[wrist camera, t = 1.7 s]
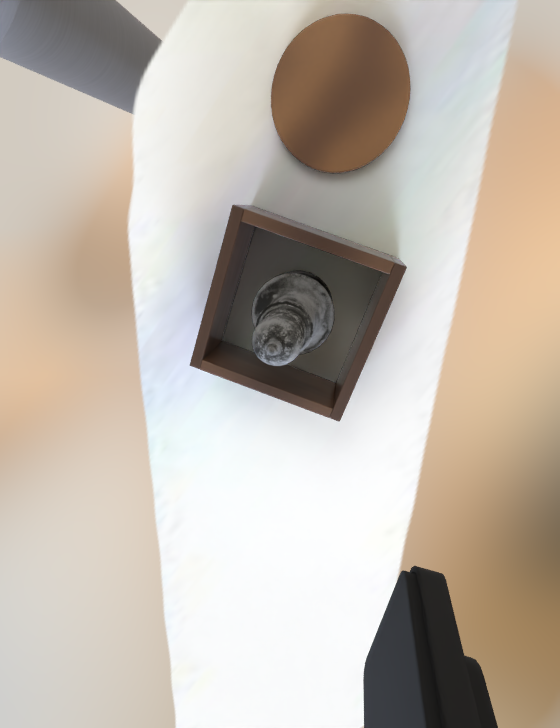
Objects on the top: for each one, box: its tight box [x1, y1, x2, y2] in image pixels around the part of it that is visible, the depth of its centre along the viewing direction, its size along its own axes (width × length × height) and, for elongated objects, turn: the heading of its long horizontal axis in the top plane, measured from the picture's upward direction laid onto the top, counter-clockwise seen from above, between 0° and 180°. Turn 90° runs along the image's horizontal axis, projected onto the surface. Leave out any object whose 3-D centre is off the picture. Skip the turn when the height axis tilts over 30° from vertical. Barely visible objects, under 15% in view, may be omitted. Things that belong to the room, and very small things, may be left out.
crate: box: [190, 205, 407, 421], centre depth 31 cm, size 12×12×5 cm
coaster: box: [271, 14, 410, 173], centre depth 28 cm, size 9×9×1 cm
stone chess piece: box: [252, 271, 334, 366], centre depth 28 cm, size 6×6×12 cm
